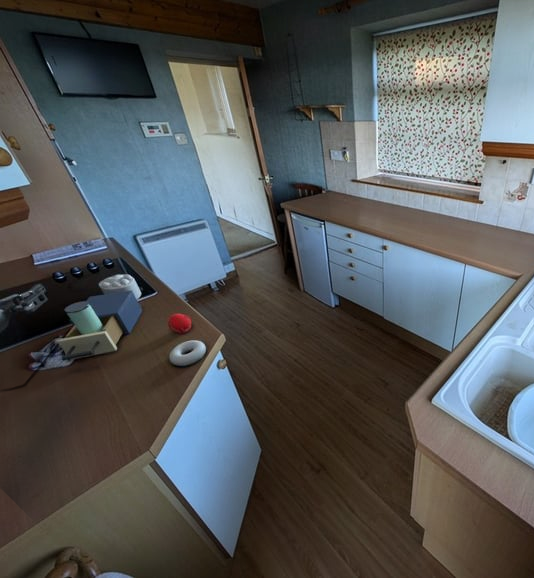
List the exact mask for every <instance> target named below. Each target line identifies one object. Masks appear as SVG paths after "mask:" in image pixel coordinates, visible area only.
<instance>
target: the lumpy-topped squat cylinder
mask: <svg viewBox="0 0 534 578" xmlns="http://www.w3.org/2000/svg"><path fill="white" fill-rule="evenodd" d="M98 287H99V288H100V290H101V292H102V293H103V295H105V294H112V293H118V292H125V291H133V293H134V295H135V297H136V299H137V300H138V299H140V297H141V296H142V292H141V290H140V287H139V286H138V283H137V282H136V280H135V278H134V277H133V276H131V274H126V273H125V274H124V273H123V274H115V275H112V276H110V277H109V276H108V277H106V278H104V279H103V280H101V281H100V282H99V283H98Z"/></svg>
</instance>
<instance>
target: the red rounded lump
mask: <svg viewBox="0 0 534 578" xmlns="http://www.w3.org/2000/svg"><path fill="white" fill-rule="evenodd" d="M167 325H168V327H169V329H170V330H172V331H173V332H175V333H176V334H185V333H187V332H188V331H190V329H192V319H191V317H190V316H188V315H185V314H181V313H174V314H172V315H171V316H170V317H169V319H168V323H167Z"/></svg>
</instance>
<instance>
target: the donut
mask: <svg viewBox="0 0 534 578" xmlns="http://www.w3.org/2000/svg"><path fill="white" fill-rule="evenodd" d="M206 351H207V347H206V345H205V343H204V342H203V341H201V340H196V339H195V340H192V339H191V340H187V341H184V342H181V343H179V344H177V345H176V346H175V347H173V348H172V350H171V351H170V353H169V361H170V363H171V364H173V365H174V366H178V367H186V366H190V365H192V364H194V363H196V362H198V361H199V360H200V359H202V358H203V357H204V356H205V354H206ZM188 352H189V353H188Z"/></svg>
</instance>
